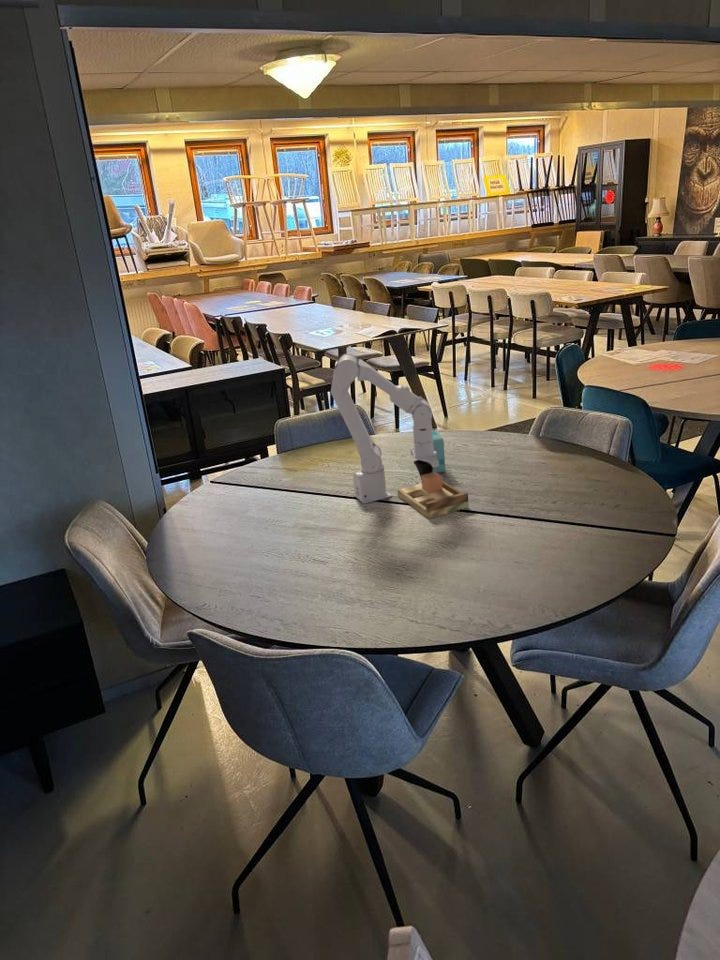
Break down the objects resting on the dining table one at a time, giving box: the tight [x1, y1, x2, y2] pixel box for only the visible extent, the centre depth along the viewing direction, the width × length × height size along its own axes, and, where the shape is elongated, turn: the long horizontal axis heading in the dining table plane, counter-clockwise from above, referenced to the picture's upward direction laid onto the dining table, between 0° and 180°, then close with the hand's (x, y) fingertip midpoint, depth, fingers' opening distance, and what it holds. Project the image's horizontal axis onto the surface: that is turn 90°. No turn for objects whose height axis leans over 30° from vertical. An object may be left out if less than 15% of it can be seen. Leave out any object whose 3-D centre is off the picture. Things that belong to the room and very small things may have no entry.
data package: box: [432, 429, 446, 474], centre depth 223 cm, size 12×4×12 cm, turn 11°
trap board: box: [397, 480, 469, 519], centre depth 199 cm, size 13×20×4 cm, turn 22°
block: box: [420, 472, 443, 494], centre depth 203 cm, size 4×4×4 cm
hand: (426, 482), depth 206 cm, fingers closed
